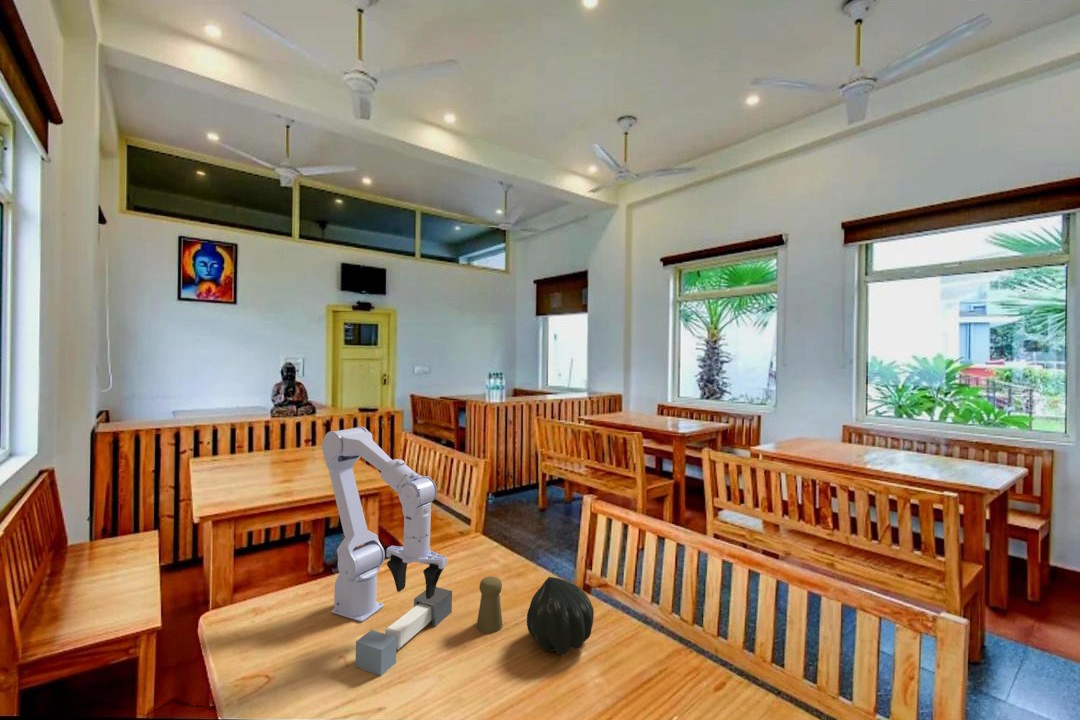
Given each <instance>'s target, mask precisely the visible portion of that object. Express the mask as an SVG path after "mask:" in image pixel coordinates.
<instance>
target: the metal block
mask: <svg viewBox="0 0 1080 720" xmlns="http://www.w3.org/2000/svg"><path fill="white" fill-rule="evenodd" d="M452 601H453V591H452V590H449V589H446V588H443V587H437V586H436V588H435V592H434V595H433V596H432V597H431V598H430V599H426V589H425V590H424V591H422V592H421V593H420V594H418V595H417V596H416V597H414V598H413V608H414V607H415V606H416V605H418V604H419V603H420V602H421V603H425V604H428V605H432V606H433V608H432V621H431V622H429V623H428V624H427V625H426V626H431V627H437V626H438V625H439V624H440V623H441V622H443V620H444V619H446V618H447V617H448V616H449V615H450V614H451V613H452V612H453V611H452V610H453V609H452V608H453V602H452Z"/></svg>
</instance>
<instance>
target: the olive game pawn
mask: <svg viewBox="0 0 1080 720" xmlns="http://www.w3.org/2000/svg"><path fill="white" fill-rule="evenodd" d="M502 589H503V584H502V581H501V579H500V578H499V577H496V576H492V575H490V576H487V577H483V578H482V579H481V581H480V583H479V592H480V594H481V595H480V596H481V597H480V603H479V609H478V615H477V621H476V628H477V630H478V631H480V632H481V633H485V634H493V633H497V632H499V631H501V629H503V627H504V626H503V615H502V606H501V596H500V594H501V592H502Z"/></svg>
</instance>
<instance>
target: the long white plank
mask: <svg viewBox="0 0 1080 720" xmlns="http://www.w3.org/2000/svg"><path fill="white" fill-rule="evenodd" d="M432 608H433V606H432V605H428V604H425V603H421V602H420V603H419V604H418V605H416V606H415V607H414V606H413V607H412V608H411V609H410V610H408V612H406V613H405V614H403V615H401V617H400V618H398V619H396V620H395V622H393V623H392V624H391V625H389V626H388V627H386V628H385V632H384V634H387V635H390V636H393V637H396V638H397V639H396V650H400V649H401V648H402V647H403V646H404V645H405V644H406V643H408V642H409V641H410V640H411V639H412V638H413V637H414V636H416V635H417V634H418V633H419V632H420V631H421V630H422V629H424V628H425V627H426V626H428V625H427V624H428V623H429V622H431V621H432Z"/></svg>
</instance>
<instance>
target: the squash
mask: <svg viewBox="0 0 1080 720" xmlns="http://www.w3.org/2000/svg"><path fill="white" fill-rule="evenodd" d="M594 611H595V610H594V607H593V603H592V602H591V600H590V598H589V596H588V595H587V593H586V592H585V591H584V589H582V588H581V587H580V586H578V585H577V584H575V583H572V582H570V581H567V580H565V579H562V578H559V577H553V576H552V577H551V576H548V577H547V579H545V580H544V582H543V583H542V585H541V586H540V588H538V589H537V591H535V593H534V595H533V596H532V598H531V600H530V604H529V607H528V610H527V613H526V628H527V630H528V633H529V634H530V636H531V637H532V639H534V640H535V641H536V642H537V643H538V645H539V646H540V647H541V648H542V650H544V651H546V652H553V651H555V652H556V653H557V654H559V655H566V654H567V653H568V652H569V651H570V649H574V650H578V649H580V648H582V646H583V644H584V642H586V641H587V640H589V638H590V636H591V635H592V629H593V625H594V618H595V617H594V616H595V614H594V613H595V612H594Z"/></svg>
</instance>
